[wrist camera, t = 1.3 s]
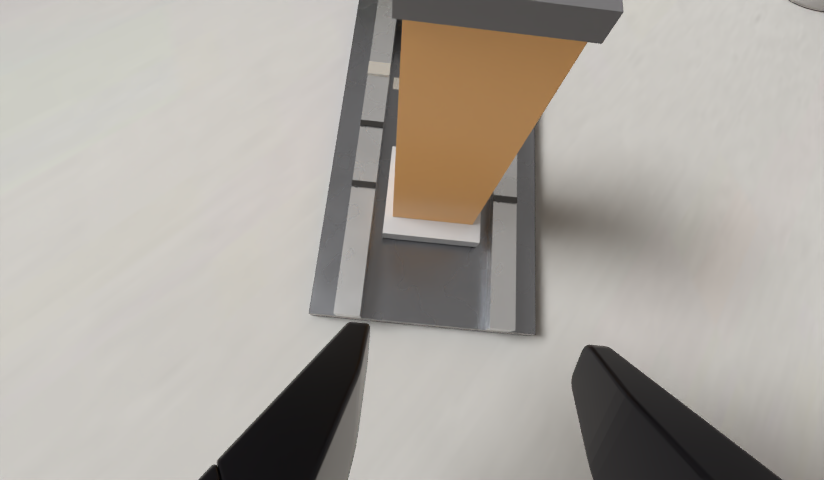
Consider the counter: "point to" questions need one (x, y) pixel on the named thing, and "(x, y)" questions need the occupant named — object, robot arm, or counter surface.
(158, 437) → the counter surface
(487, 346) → the counter surface
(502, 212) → the plate
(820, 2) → the mug
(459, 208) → the fader tab
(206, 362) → the counter surface
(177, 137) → the counter surface
